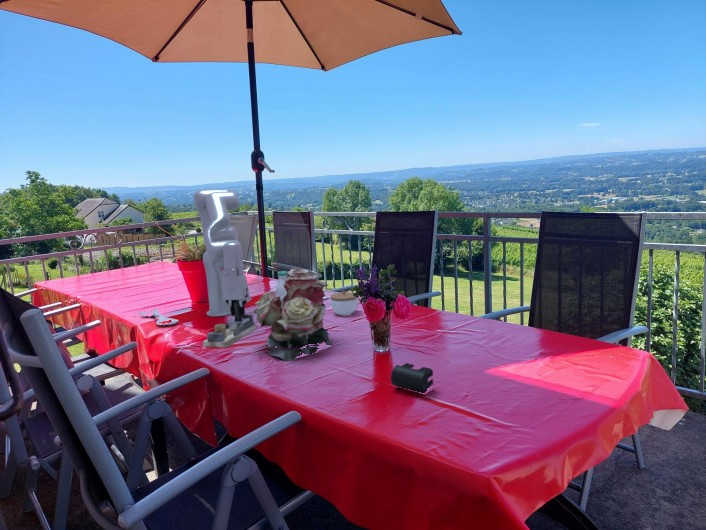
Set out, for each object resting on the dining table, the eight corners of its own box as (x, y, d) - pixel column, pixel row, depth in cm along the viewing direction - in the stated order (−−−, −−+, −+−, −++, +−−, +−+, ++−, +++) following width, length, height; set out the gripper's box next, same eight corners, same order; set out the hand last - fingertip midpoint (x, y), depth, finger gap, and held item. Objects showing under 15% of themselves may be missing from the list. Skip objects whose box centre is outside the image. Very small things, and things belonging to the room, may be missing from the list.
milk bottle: (290, 314, 214) (287, 273, 211) (274, 314, 216) (271, 273, 213) (295, 310, 222) (292, 270, 219) (280, 310, 223) (277, 270, 220)
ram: (225, 329, 187) (222, 301, 185) (234, 323, 195) (232, 297, 193) (240, 330, 185) (238, 301, 183) (249, 324, 193) (247, 297, 191)
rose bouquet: (251, 345, 173) (245, 267, 169) (323, 332, 185) (319, 259, 180) (267, 367, 150) (260, 278, 145) (348, 351, 162) (344, 268, 157)
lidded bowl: (347, 319, 203) (346, 295, 201) (325, 315, 210) (324, 292, 208) (363, 312, 212) (363, 289, 211) (342, 309, 220) (341, 287, 218)
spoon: (157, 313, 229) (156, 306, 228) (182, 325, 206) (181, 318, 205) (138, 317, 223) (137, 310, 222) (162, 330, 200) (161, 322, 199)
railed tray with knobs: (203, 346, 174) (201, 331, 173) (235, 327, 198) (234, 313, 197) (226, 347, 172) (225, 332, 171) (256, 327, 195) (255, 314, 195)
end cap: (390, 391, 129) (390, 368, 127) (404, 382, 134) (403, 360, 133) (421, 399, 122) (421, 375, 121) (434, 390, 128) (434, 367, 127)
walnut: (214, 339, 175) (212, 327, 175) (218, 336, 179) (216, 323, 179) (224, 339, 175) (222, 326, 174) (228, 335, 179) (226, 323, 178)
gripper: (211, 273, 186) (215, 317, 189) (248, 273, 182) (251, 318, 184) (221, 270, 193) (224, 312, 196) (256, 270, 189) (259, 313, 192)
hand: (237, 314), depth 190 cm, fingers closed on ram, 3 cm apart
